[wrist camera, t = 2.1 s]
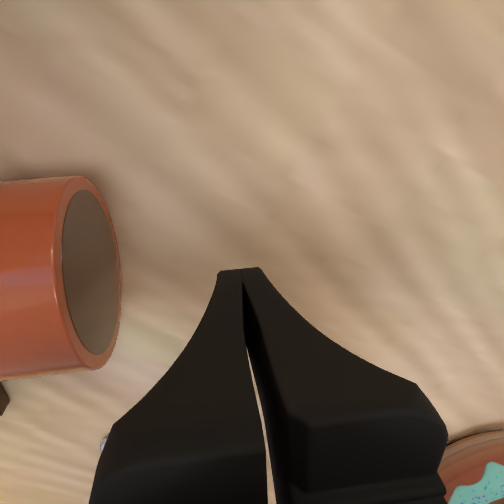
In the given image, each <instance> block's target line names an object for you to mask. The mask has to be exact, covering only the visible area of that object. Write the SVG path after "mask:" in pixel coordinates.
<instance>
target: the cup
mask: <svg viewBox="0 0 504 504" xmlns="http://www.w3.org/2000/svg"><path fill="white" fill-rule="evenodd" d="M120 316H121V272H120V262H119V255H118V248H117V243H116V238H115V234H114V229H113V226H112V222H111V219H110V216H109V213H108V210H107V208H106V205H105V203H104V201H103V199H102V197H101V195H100V193H99V191H98V190H97V188H96V187H95V185H94V184H93V183H92V182H91V181H90V180H89V179H87V178H86V177H83V176H80V175H74V176H61V177H49V178H36V179H23V180H11V181H0V381H8V380H16V379H24V378H33V377H41V376H50V375H58V374H66V373H75V372H83V371H92V370H97V369H100V368H101V367H103V366H104V365H105V364H106V363H107V362H108V360H109V358H110V357H111V355H112V352H113V350H114V347H115V344H116V340H117V336H118V331H119V325H120Z"/></svg>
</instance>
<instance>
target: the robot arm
mask: <svg viewBox="0 0 504 504" xmlns="http://www.w3.org/2000/svg"><path fill="white" fill-rule="evenodd" d="M246 346H247V347H246ZM247 350H248V354H249V358H250V362H251V366H252V370H253V374H254V378H255V382H256V386H257V390H258V394H259V398H260V402H261V406H262V411H263V416H264V421H265V428H266V435H267V441H268V448H269V455H270V462H271V469H272V476H273V482H274V490H275V497H276V504H447V502H446V500H445V498H444V496H445V495H446V492H447V491H446V487H445V485H444V483H443V481H442V480H441V478H440V476H439V474H438V472H437V471H438V468H439V465H440V462H441V459H442V456H443V454H444V451H445V448H446V445H447V439H448V432H447V429H446V425H445V424H444V422H443V420H442V419H441V417H440V416H439V414H438V412H437V411H436V409H435V408H434V406H433V405H432V404H431V402H430V401H429V399H428V398H427V397H426V396H425V394H424V393H423V392H422V391H421V389H420V388H419V387H418V385H417V384H416V383H413V382H411V381H409V380H406V379H404V378H402V377H399V376H397V375H395V374H392V373H390V372H388V371H385V370H383V369H381V368H379V367H377V366H375V365H373V364H371V363H369V362H367V361H365V360H363V359H361V358H360V357H358V356H356V355H354V354H353V353H351V352H349V351H348V350H346V349H345V348H343V347H341V346H340V345H338V344H337V343H335V342H333V341H332V340H330V339H329V338H328V337H326V336H325V335H324V334H322V333H321V332H320V331H318V330H317V329H316V328H315V327H313V326H312V325H311V324H310V323H309V322H308V321H307V320H305V319H304V318H303V317H302V316H301V315H300V314H299V313H298V312H297V311H296V310H295V309H294V308H293V307H292V306H291V305H290V304H289V303H288V302H287V301H286V300H285V299H284V298H283V297H282V295H281V294H280V293H279V292H278V291H277V290H276V289H275V287H274V286H273V285H272V284H271V282H270V281H269V280H268V278H267V277H266V276H265V274H264V273H263V271H262V270H261V269H260V268H259V267H254V268H244V269H234V270H224V271H220V272H219V273H218V274H217V281H216V285H215V288H214V291H213V294H212V297H211V299H210V302H209V304H208V307H207V309H206V311H205V313H204V315H203V317H202V319H201V321H200V323H199V325H198V327H197V329H196V331H195V332H194V334H193V336H192V338H191V339H190V341H189V342H188V344H187V345H186V347H185V348H184V350H183V351H182V353H181V354H180V355H179V357H178V358H177V359H176V361H175V362H174V363H173V365H172V366H171V367H170V369H169V370H168V371H167V372H166V373H165V375H164V376H163V377H162V378H161V379H160V380H159V381H158V382H157V383H156V385H155V386H154V387H153V388H152V389H151V390H150V391H149V392H148V393H147V394H146V395H145V396H144V397H143V398H142V399H141V400H140V401H139V402H138V403H137V404H136V405H135V406H134V407H133V408H132V409H130V410H129V411H128V412H127V413H126V414H125V415H124V416H123V417H122V418H120V419H119V420H118V421H117V422H116V423H114V424H113V426H112V428H111V431H110V433H109V435H108V438H105V439H103V440H102V441H101V445H100V449H101V451H102V453H101V456H100V459H99V462H98V465H97V469H96V473H95V477H94V482H93V486H92V491H91V495H90V500H89V504H268V495H267V470H266V449H265V442H264V436H263V429H262V423H261V418H260V414H259V410H258V405H257V400H256V396H255V391H254V386H253V381H252V376H251V371H250V366H249V361H248V355H247Z"/></svg>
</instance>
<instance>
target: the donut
mask: <svg viewBox="0 0 504 504" xmlns="http://www.w3.org/2000/svg"><path fill="white" fill-rule="evenodd" d="M437 472H438V474H439V476H440V478H441V480H442V481H443V483H444V485H445V487H446V491H447V492H446V495H445V496H444V498H445V500H446V502H447V504H504V431H491V432H485V433H480V434H476V435H472V436H469V437H466V438H463V439H461V440H458V441H456V442H454V443H452V444H450V445H448V446H446V448H445V451H444V454H443V456H442V459H441V462H440V465H439V468H438V471H437Z"/></svg>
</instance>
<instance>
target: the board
mask: <svg viewBox="0 0 504 504" xmlns="http://www.w3.org/2000/svg"><path fill="white" fill-rule="evenodd" d="M8 403H9V398H8V397H7V395H6V393H5V391H4V389H3V387H2V386H1V384H0V416H2V415H3V413H4V411H5V409H6V407H7V405H8Z"/></svg>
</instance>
